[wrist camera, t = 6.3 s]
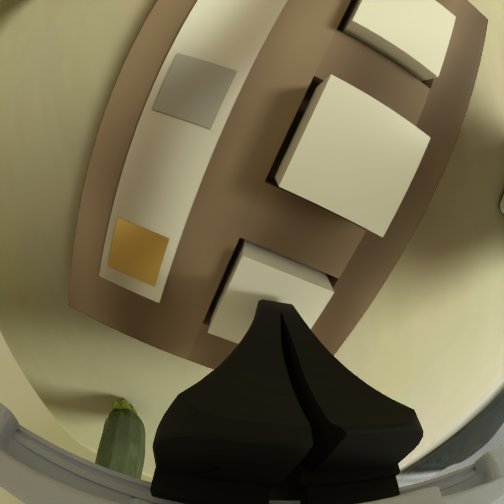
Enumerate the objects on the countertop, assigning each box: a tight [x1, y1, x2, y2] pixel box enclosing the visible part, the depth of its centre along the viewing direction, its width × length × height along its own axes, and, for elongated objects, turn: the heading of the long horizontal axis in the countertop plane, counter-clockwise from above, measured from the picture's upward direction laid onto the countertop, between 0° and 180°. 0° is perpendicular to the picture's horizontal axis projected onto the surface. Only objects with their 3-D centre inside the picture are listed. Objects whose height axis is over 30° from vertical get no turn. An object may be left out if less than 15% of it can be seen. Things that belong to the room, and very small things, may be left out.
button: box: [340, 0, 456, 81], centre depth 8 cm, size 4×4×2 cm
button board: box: [69, 0, 488, 369], centre depth 11 cm, size 14×24×3 cm, turn 157°
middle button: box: [275, 74, 430, 237], centre depth 9 cm, size 4×4×2 cm
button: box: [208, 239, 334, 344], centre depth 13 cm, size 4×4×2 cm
